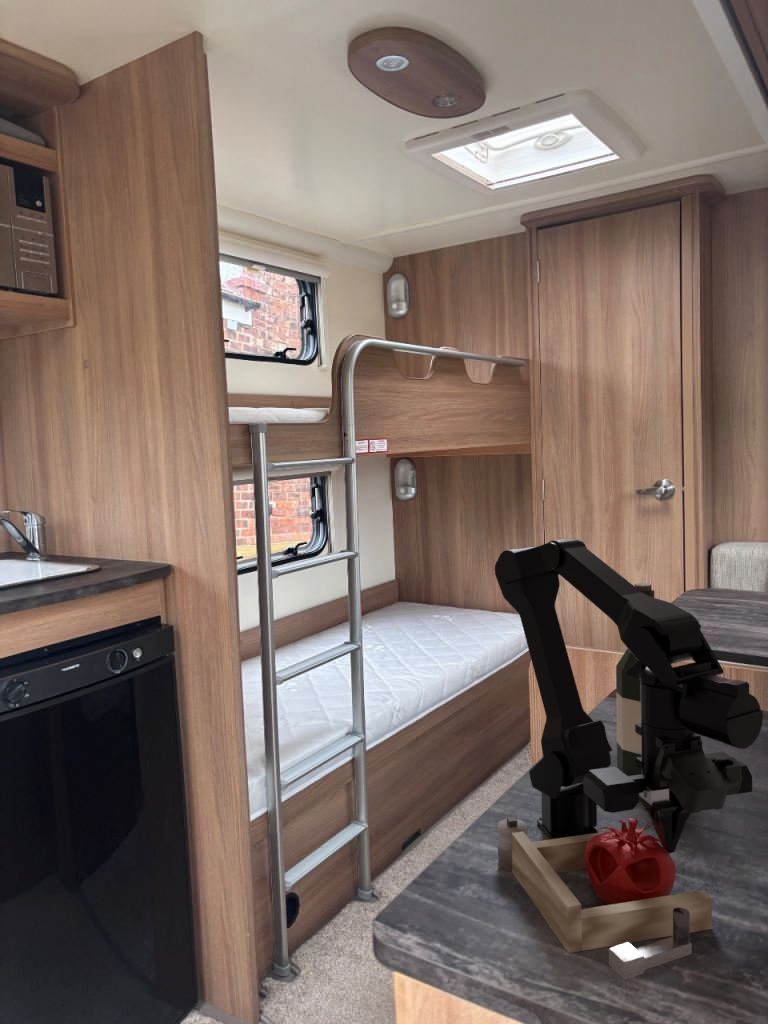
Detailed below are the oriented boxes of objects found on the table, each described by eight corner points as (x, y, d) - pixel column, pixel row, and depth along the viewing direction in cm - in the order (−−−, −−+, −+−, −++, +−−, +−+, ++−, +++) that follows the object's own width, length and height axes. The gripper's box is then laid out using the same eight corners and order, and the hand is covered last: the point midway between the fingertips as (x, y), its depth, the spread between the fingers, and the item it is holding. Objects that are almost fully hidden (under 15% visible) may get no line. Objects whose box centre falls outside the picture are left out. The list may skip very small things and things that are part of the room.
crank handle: (624, 979, 76) (624, 938, 76) (608, 965, 78) (608, 925, 78) (696, 955, 79) (696, 916, 79) (679, 942, 82) (679, 903, 81)
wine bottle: (683, 775, 122) (683, 586, 120) (640, 785, 119) (639, 591, 117) (647, 756, 130) (646, 578, 128) (606, 765, 127) (604, 583, 125)
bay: (558, 954, 80) (558, 900, 80) (494, 858, 99) (493, 814, 99) (711, 928, 84) (711, 877, 83) (621, 840, 103) (620, 798, 102)
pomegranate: (601, 866, 97) (600, 793, 96) (685, 889, 91) (684, 811, 91) (572, 904, 89) (571, 824, 88) (663, 931, 83) (661, 846, 83)
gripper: (629, 757, 80) (632, 903, 81) (787, 735, 84) (787, 875, 85) (579, 721, 91) (582, 850, 92) (721, 704, 95) (722, 828, 96)
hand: (668, 851), depth 91 cm, fingers closed
